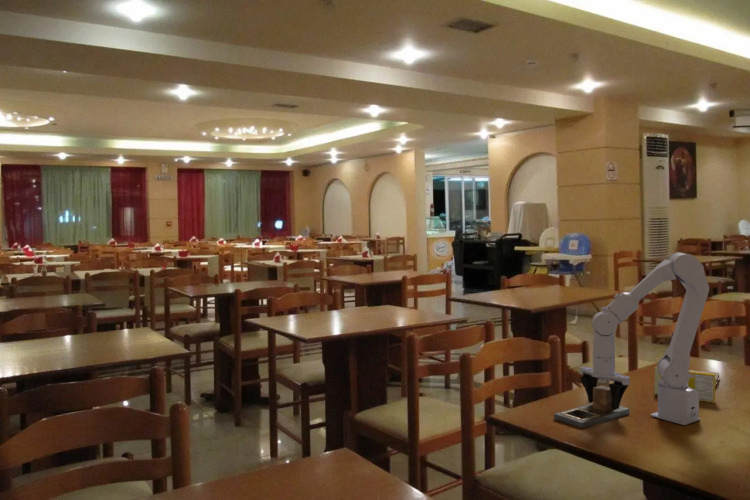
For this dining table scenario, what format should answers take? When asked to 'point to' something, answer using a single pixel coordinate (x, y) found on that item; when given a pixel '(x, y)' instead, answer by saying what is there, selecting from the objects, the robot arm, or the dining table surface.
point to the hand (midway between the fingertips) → (603, 405)
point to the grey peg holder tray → (589, 415)
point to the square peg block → (602, 398)
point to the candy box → (696, 385)
